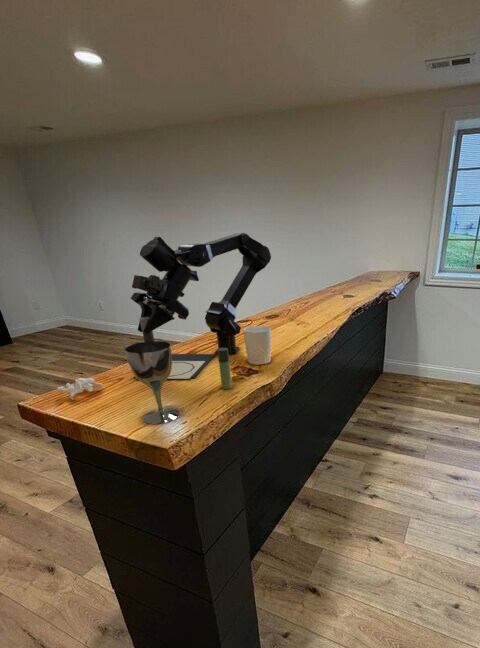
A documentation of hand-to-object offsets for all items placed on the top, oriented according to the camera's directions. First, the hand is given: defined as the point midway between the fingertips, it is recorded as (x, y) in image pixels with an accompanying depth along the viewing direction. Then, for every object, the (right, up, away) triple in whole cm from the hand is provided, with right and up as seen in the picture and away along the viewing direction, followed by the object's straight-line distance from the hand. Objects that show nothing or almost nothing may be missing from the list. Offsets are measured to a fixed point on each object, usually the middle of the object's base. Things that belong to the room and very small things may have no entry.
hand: (142, 332), depth 90 cm
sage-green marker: (+23, -14, -3) cm, 27 cm away
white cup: (+28, -7, +15) cm, 32 cm away
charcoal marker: (+1, -6, +4) cm, 7 cm away
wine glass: (+13, -20, -17) cm, 30 cm away
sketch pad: (+5, -8, +11) cm, 15 cm away
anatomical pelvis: (-10, -16, -7) cm, 20 cm away
